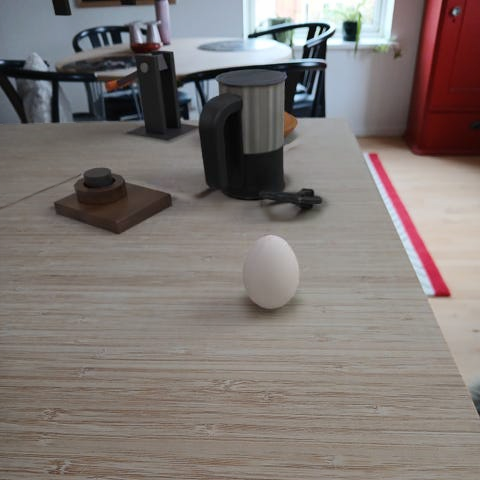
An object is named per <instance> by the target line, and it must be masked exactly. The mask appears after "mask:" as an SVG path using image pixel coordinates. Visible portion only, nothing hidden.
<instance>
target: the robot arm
mask: <svg viewBox="0 0 480 480" xmlns="http://www.w3.org/2000/svg"><path fill="white" fill-rule="evenodd" d="M119 1H120V5H121V6H137V0H119ZM51 3H52V8H53V12H54V16H59V17H70V16H72V10H71V5H70V0H51Z"/></svg>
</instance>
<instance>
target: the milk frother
mask: <svg viewBox="0 0 480 480" xmlns="http://www.w3.org/2000/svg"><path fill="white" fill-rule="evenodd" d="M287 78H288V75H287V74H286V73H285V72H283V71H279V70H270V69H259V68H258V69H256V68H255V69H254V68H253V69H252V68H251V69H239V70H233V71H231V70H230V71H228V72H224V73H220V74H218V75H216V76H215V81H216V82H217V84H218V95H216V96H213V97H211V98H210V99H208V101H207V102H206V103H205V104H204V105H203V107H202V108H201V111H200V114H199V118H198V126H199V128H198V134H199V143H200V152H201V159H202V166H203V173H204V180H205V184H206V186H207V187H208V188H210V189H215V190H218V191H222V192H223V193H224V194H226V195H227V196H229V197H233V198H237V199H241V200H260V199H261V200H262V199H264V200H269V201H276V202H282V203H283V202H285V203H290V204H292V205H295V206H297V207H298V208H300V209H303V210H312V209H313V207H314V205H321V204H323V197H321V196H319V195H316V192H315V190H314V189H313V188H307V187H305V188H304V187H302V188H301V189H300V190H298V191H297V192H287V191H284V190H285V188H286V182H285V172H284V170H285V169H284V142H283V140H284V111H285V83H286V82H285V81H286V80H287Z"/></svg>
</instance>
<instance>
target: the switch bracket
mask: <svg viewBox="0 0 480 480" xmlns="http://www.w3.org/2000/svg"><path fill="white" fill-rule="evenodd" d="M159 54H163V57H164V60H165V62H166V65H167V69H165V70H163V71H161V72H160V71H159V63H158V56H156V55H159ZM134 60H135V67H136V71H137V75H138V78H137V81H138V88H139V94H140V101H141V109H142V115H143V122H144V125H142V126H140V127H137V128H135V129H132V130H129V131H127V134H131V135H136V136H142V137H146V138H151V139H157V140H161V141H167V142H169V141H171V140H173V139H176V138H178V137H180V136H183V135H185V134H187V133H190V132H192V131H194V130H197V129H199V125H195V124H193V125H192V124H187V123H182V121H181V119H182V118H181V110H180V101H179V100H180V99H179V91H178V82H177V73H176V72H177V71H176V63H175V62H176V61H175V54H174V51H170V50H158V49H153V50H150V54H146V53H145V54H144V53H143V54H142V53H137V54H134Z"/></svg>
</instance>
